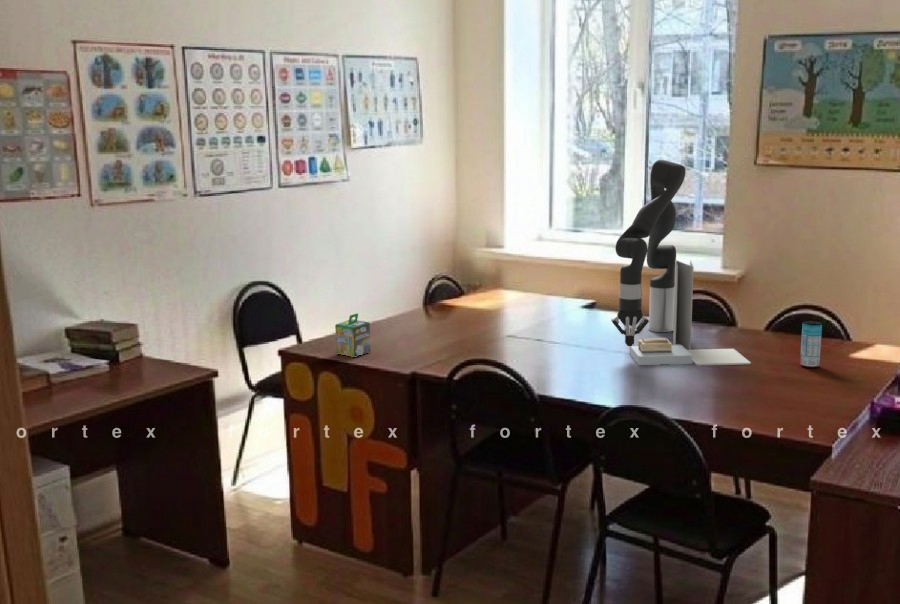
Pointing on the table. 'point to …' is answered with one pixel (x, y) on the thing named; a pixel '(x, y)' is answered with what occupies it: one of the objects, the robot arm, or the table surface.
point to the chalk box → (353, 337)
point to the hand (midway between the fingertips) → (629, 345)
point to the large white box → (662, 356)
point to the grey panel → (683, 304)
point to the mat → (717, 357)
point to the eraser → (655, 345)
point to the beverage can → (811, 343)
